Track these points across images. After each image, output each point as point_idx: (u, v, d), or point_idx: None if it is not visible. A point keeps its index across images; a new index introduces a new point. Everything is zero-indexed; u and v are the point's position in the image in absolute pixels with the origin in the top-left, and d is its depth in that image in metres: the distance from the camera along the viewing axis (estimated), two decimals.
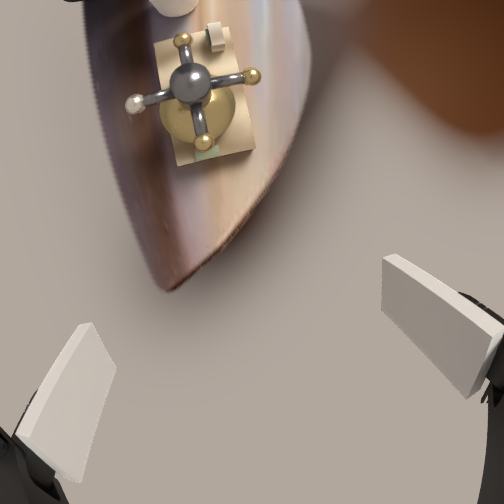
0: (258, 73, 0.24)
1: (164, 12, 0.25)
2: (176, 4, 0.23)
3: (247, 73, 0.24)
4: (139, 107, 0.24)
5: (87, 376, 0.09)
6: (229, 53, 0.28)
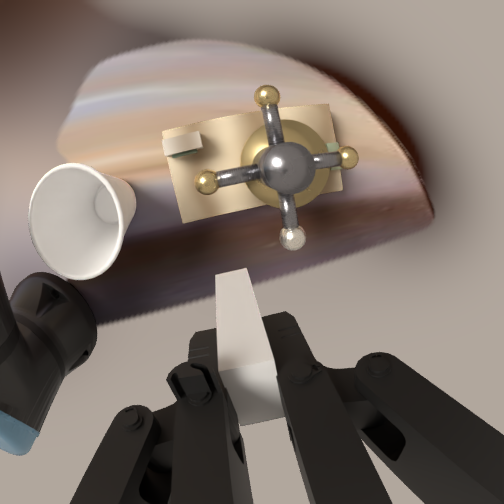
0: (267, 87, 0.20)
1: (132, 217, 0.28)
2: (129, 201, 0.25)
3: (268, 99, 0.20)
4: (302, 232, 0.24)
5: None
6: (205, 127, 0.26)
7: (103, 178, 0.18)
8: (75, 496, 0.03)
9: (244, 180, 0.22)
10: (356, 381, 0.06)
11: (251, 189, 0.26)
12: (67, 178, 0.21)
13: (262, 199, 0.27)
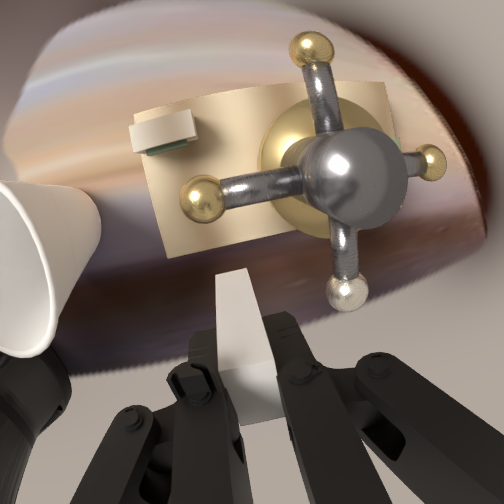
0: (313, 32, 0.09)
1: (94, 247, 0.18)
2: (81, 227, 0.14)
3: (317, 52, 0.10)
4: (364, 284, 0.14)
5: None
6: (201, 105, 0.15)
7: (15, 200, 0.08)
8: (75, 496, 0.03)
9: (274, 197, 0.12)
10: (356, 381, 0.06)
11: (278, 207, 0.16)
12: None
13: (295, 224, 0.17)
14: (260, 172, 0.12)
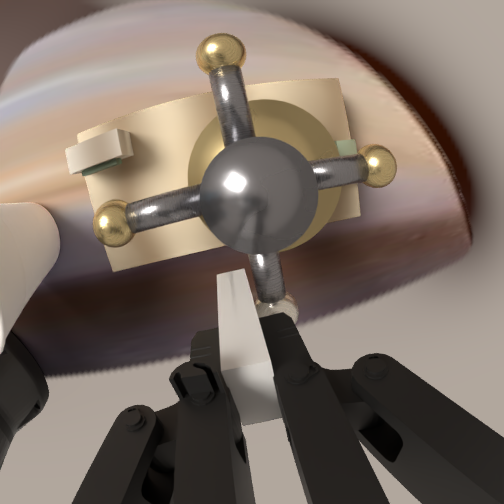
0: (217, 35, 0.09)
1: (52, 259, 0.17)
2: (32, 244, 0.14)
3: (219, 56, 0.09)
4: (291, 307, 0.13)
5: None
6: (136, 121, 0.15)
7: None
8: (77, 496, 0.03)
9: (177, 219, 0.11)
10: (353, 382, 0.06)
11: (206, 223, 0.16)
12: None
13: None
14: (163, 194, 0.11)
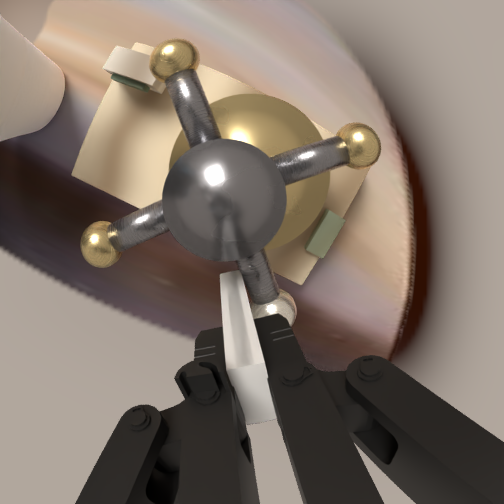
0: (165, 42, 0.08)
1: (35, 126, 0.14)
2: (30, 101, 0.11)
3: (169, 64, 0.09)
4: (286, 306, 0.13)
5: None
6: None
7: None
8: (80, 496, 0.03)
9: (156, 232, 0.11)
10: (347, 385, 0.06)
11: None
12: None
13: None
14: (140, 210, 0.11)
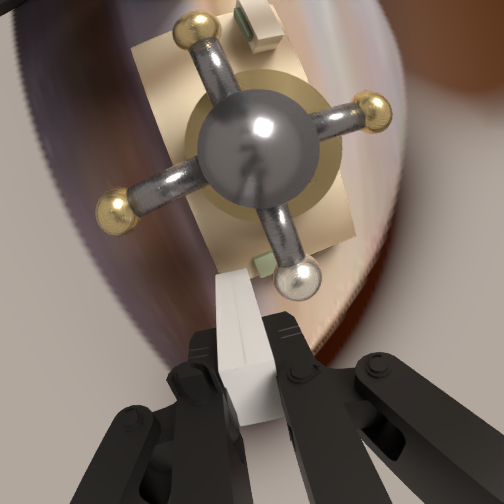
0: (190, 13, 0.08)
1: None
2: None
3: (195, 31, 0.08)
4: (313, 267, 0.12)
5: None
6: (286, 54, 0.15)
7: None
8: (75, 496, 0.03)
9: (180, 193, 0.11)
10: (356, 381, 0.06)
11: (212, 201, 0.15)
12: None
13: (235, 214, 0.15)
14: (163, 171, 0.11)
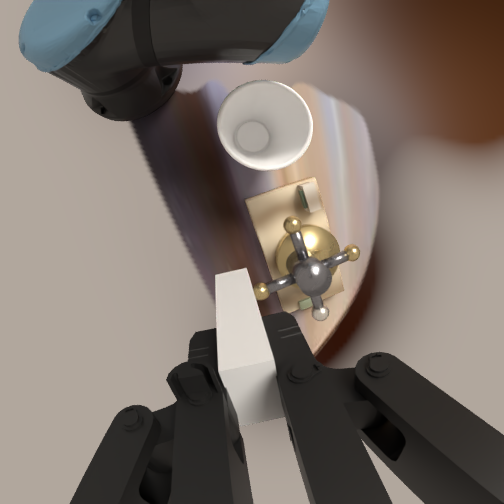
0: (292, 220, 0.31)
1: None
2: None
3: (294, 230, 0.31)
4: (326, 309, 0.35)
5: None
6: (319, 209, 0.38)
7: (302, 153, 0.27)
8: (75, 496, 0.03)
9: (285, 287, 0.34)
10: (356, 381, 0.06)
11: None
12: (291, 111, 0.29)
13: (295, 286, 0.38)
14: (279, 279, 0.34)
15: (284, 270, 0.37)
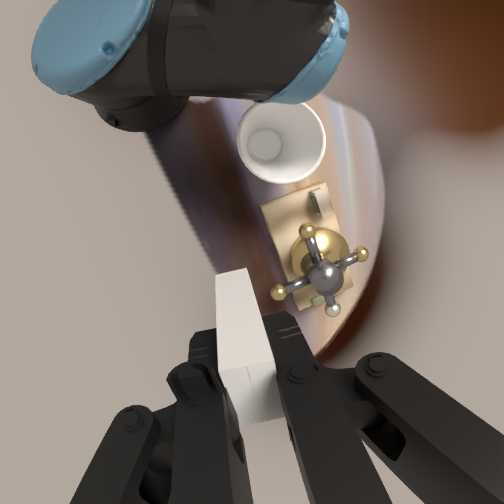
0: (307, 227, 0.33)
1: (261, 166, 0.37)
2: None
3: (309, 236, 0.34)
4: (338, 306, 0.38)
5: None
6: None
7: (316, 166, 0.29)
8: (75, 496, 0.03)
9: (301, 287, 0.36)
10: (356, 381, 0.06)
11: None
12: (303, 123, 0.30)
13: (309, 285, 0.41)
14: (295, 280, 0.36)
15: (299, 271, 0.40)
